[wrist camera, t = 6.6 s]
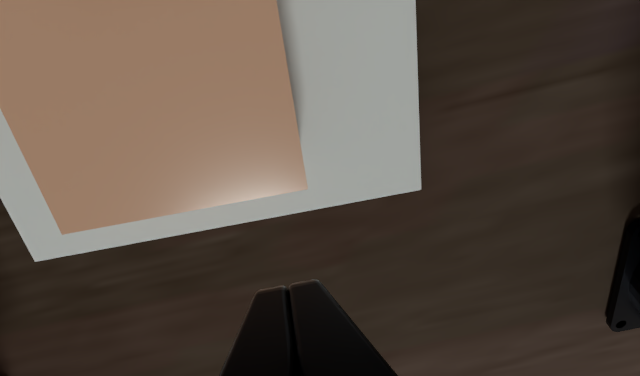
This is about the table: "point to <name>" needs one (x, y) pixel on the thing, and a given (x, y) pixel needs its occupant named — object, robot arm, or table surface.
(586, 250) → the table surface
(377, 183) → the mat
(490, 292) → the table surface
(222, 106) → the tile
